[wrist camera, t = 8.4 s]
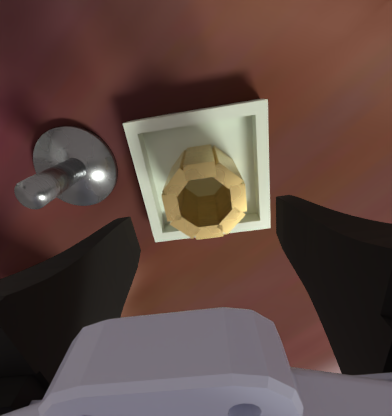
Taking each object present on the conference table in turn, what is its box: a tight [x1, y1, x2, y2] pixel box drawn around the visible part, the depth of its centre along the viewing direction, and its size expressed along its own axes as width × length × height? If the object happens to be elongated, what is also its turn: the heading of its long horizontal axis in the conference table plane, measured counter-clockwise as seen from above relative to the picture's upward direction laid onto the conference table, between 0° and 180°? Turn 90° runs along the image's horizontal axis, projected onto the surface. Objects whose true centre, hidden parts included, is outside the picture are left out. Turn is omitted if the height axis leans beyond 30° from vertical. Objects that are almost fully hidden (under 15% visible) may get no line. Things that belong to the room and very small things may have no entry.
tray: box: [123, 99, 270, 242], centre depth 18 cm, size 10×10×2 cm
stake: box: [15, 126, 118, 209], centre depth 16 cm, size 6×6×6 cm
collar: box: [161, 144, 247, 240], centre depth 17 cm, size 5×6×5 cm
